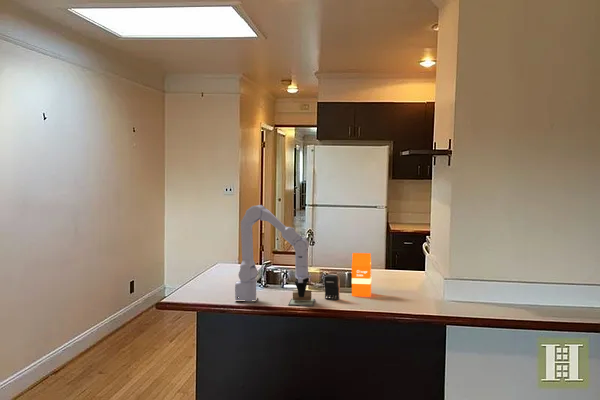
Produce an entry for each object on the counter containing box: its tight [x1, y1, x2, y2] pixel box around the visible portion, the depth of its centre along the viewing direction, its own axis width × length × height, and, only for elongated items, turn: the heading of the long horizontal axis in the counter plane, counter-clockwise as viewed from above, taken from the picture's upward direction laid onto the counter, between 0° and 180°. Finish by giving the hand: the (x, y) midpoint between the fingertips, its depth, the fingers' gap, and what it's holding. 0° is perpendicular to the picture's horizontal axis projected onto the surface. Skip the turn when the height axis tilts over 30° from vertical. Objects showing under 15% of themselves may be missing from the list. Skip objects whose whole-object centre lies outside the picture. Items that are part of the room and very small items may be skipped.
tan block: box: [292, 289, 312, 301], centre depth 234 cm, size 4×8×4 cm, turn 85°
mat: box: [288, 298, 316, 307], centre depth 234 cm, size 11×11×1 cm
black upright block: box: [323, 273, 341, 301], centre depth 240 cm, size 7×4×11 cm, turn 64°
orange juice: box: [351, 252, 372, 298], centre depth 249 cm, size 8×9×20 cm
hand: (301, 295), depth 234 cm, fingers closed on tan block, 4 cm apart
